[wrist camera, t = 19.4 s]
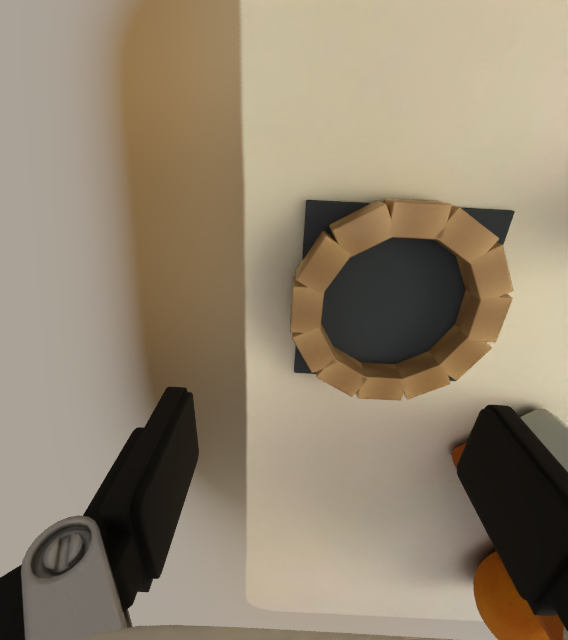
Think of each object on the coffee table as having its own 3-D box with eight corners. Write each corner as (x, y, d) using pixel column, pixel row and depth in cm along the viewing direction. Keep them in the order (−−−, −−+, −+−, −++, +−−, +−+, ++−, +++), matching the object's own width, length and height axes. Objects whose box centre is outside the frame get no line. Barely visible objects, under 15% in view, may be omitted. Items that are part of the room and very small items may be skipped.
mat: (294, 370, 26) (294, 372, 25) (306, 199, 20) (306, 200, 20) (454, 378, 26) (456, 381, 25) (511, 210, 20) (515, 211, 20)
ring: (287, 379, 26) (286, 395, 24) (297, 193, 20) (298, 196, 18) (459, 387, 26) (472, 404, 24) (524, 205, 20) (547, 209, 18)
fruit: (510, 592, 39) (559, 688, 32) (442, 568, 38) (478, 664, 30) (580, 549, 35) (654, 647, 28) (508, 519, 33) (567, 617, 26)
